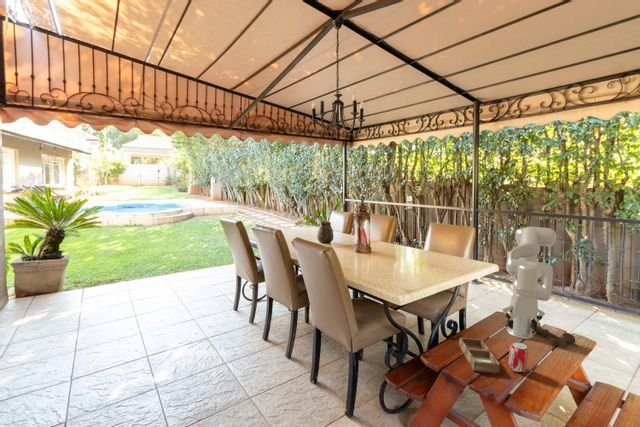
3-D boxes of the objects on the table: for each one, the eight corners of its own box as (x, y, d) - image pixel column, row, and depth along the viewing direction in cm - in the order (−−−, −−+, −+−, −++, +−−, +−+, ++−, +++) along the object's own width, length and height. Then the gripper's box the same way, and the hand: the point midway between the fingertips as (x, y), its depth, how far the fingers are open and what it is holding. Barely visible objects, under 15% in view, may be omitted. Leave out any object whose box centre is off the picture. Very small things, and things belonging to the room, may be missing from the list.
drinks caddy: (458, 345, 160) (459, 337, 160) (481, 347, 159) (481, 339, 158) (473, 371, 139) (474, 362, 139) (499, 373, 138) (500, 364, 138)
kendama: (541, 332, 177) (583, 349, 159) (531, 336, 173) (573, 354, 155) (542, 322, 176) (584, 338, 158) (532, 326, 172) (574, 343, 154)
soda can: (504, 364, 145) (506, 341, 143) (518, 364, 145) (521, 340, 144) (514, 374, 138) (517, 349, 136) (529, 374, 138) (532, 349, 137)
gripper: (541, 290, 139) (537, 325, 141) (501, 287, 141) (497, 322, 143) (551, 296, 132) (547, 334, 134) (509, 294, 134) (505, 331, 136)
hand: (521, 328), depth 139 cm, fingers open, 9 cm apart
